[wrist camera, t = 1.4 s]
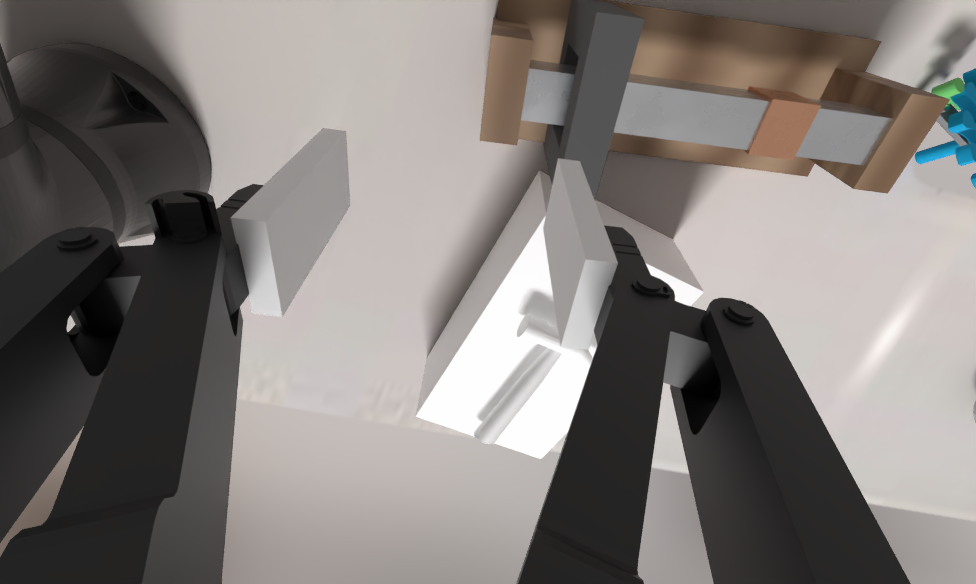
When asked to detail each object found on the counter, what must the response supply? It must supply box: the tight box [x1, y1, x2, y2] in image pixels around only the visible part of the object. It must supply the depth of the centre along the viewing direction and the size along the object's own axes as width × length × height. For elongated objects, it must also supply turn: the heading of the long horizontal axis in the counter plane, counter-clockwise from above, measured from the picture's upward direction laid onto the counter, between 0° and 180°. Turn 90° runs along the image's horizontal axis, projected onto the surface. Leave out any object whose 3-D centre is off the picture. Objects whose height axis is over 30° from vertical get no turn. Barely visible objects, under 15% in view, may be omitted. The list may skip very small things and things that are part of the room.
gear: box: [915, 69, 976, 188], centre depth 35 cm, size 11×6×10 cm
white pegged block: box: [416, 171, 704, 459], centre depth 44 cm, size 14×25×11 cm, turn 153°
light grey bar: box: [521, 60, 893, 165], centre depth 30 cm, size 25×3×3 cm, turn 83°
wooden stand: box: [480, 0, 950, 193], centre depth 32 cm, size 27×10×9 cm, turn 83°
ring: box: [544, 0, 645, 200], centre depth 30 cm, size 2×10×10 cm, turn 173°
